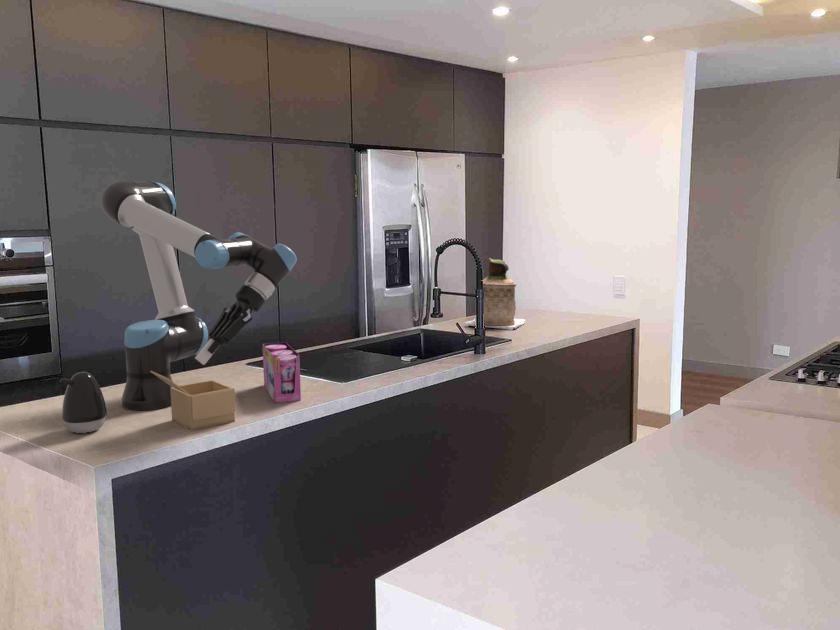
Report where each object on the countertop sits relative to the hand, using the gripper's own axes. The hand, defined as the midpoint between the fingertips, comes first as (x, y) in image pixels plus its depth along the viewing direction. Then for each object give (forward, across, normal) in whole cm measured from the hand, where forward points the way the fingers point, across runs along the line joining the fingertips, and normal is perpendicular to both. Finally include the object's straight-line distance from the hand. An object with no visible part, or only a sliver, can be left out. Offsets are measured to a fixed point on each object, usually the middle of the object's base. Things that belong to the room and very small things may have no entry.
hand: (199, 361), depth 186 cm
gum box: (-10, +12, -33) cm, 37 cm away
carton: (+11, 0, -12) cm, 16 cm away
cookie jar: (-110, +55, -133) cm, 181 cm away
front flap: (+9, 0, +3) cm, 9 cm away
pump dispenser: (+30, +12, +7) cm, 33 cm away
